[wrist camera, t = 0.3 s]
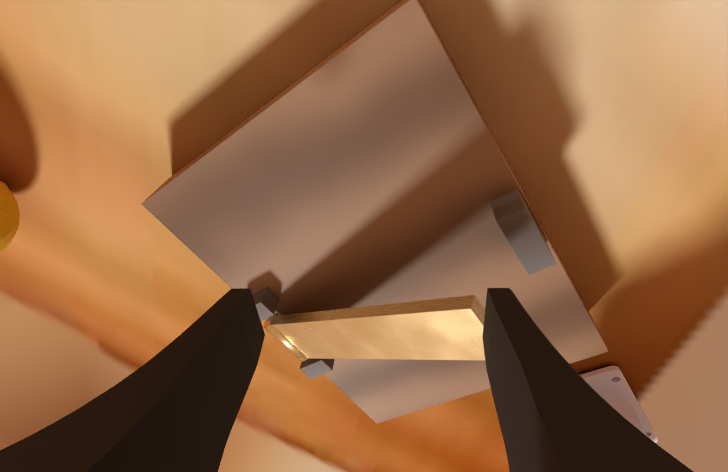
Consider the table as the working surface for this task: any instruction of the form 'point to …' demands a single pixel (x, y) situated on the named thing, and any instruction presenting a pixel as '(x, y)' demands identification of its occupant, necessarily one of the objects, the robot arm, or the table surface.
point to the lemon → (7, 216)
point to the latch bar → (386, 331)
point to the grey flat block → (375, 209)
